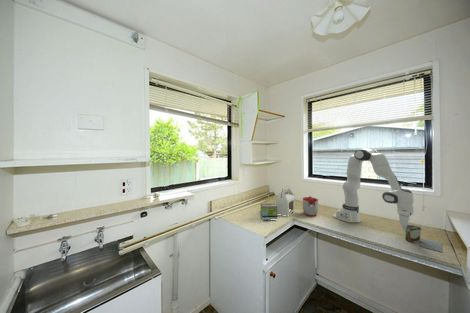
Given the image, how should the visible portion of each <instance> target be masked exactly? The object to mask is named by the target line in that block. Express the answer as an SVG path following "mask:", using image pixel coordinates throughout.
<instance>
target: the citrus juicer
mask: <svg viewBox="0 0 470 313" xmlns="http://www.w3.org/2000/svg"><path fill="white" fill-rule="evenodd" d="M301 199H302V210H303V213H304V215H305V216H307V217H316V216H317V215H318V211H319V199H318V198H315V197H313V196H312V195H309V196H305V197H302V198H301Z"/></svg>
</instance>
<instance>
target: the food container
mask: <svg viewBox="0 0 470 313" xmlns="http://www.w3.org/2000/svg"><path fill="white" fill-rule="evenodd" d="M421 230H422V227H421V226H418V225H412V224H408V225H407V227H406V231H404V233H405V240H406V241H407V242H409V243H415V242H420V240H421V233H422V232H421Z"/></svg>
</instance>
